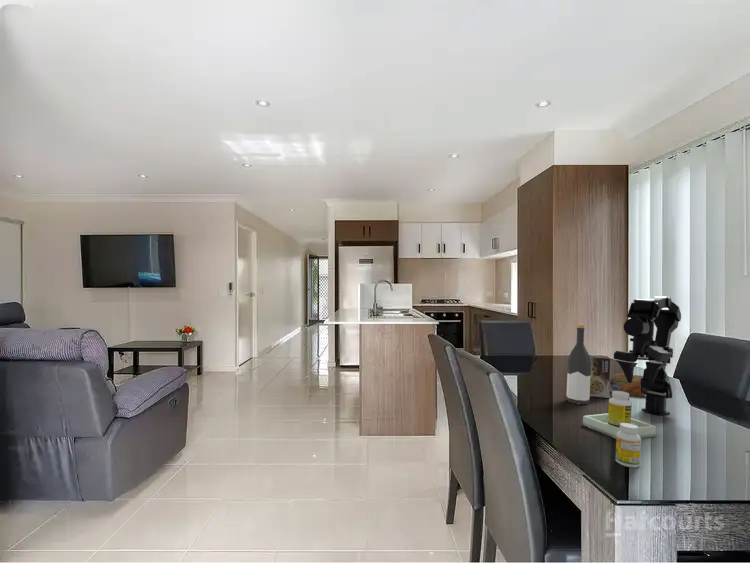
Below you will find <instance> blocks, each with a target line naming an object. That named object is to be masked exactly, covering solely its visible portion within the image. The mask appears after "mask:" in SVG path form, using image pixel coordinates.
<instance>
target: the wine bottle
mask: <svg viewBox="0 0 750 563" xmlns="http://www.w3.org/2000/svg"><path fill="white" fill-rule="evenodd" d="M584 326H585V325H584V323H578V324H577V327H576V343H575V345H574V347H573V348H572V350H571V351H570V354H569V356H568V360H567V376H566V377H567V379H566V401H567V400H568V401H571V402H574V403H580V404H579V405H581V404H586V405H589V404H590V397H591V396H590V376H591V361H590V357H589V355H590V354H589V352H588V350H587V348H586V347H585V346H586V345H585V344H584V342H585V341H584V340H585V327H584ZM568 401H567V402H568ZM574 403H573V404H574ZM588 403H589V404H588Z"/></svg>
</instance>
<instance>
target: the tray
mask: <svg viewBox="0 0 750 563" xmlns="http://www.w3.org/2000/svg"><path fill="white" fill-rule="evenodd" d="M631 424H633V425H636V426H638V433H637V434H638V435H639V436H640V438H641V439H646V438H653V437H654V438H655V437H657V426H656V425H653V424H651V423H647V422H645V421H641V420H638V419H635V418H632V417H631ZM582 426H584V427H586V426H587V428H589V429H591V430H594V431H597V432H599V433H601V434H604V435H606V436H609V437H612V438H613V439H616V435H617V432H619V431H621V430H620V428H617V427H615V426H612V425H609V424H608V413H599V414H586V415H583V416H582Z"/></svg>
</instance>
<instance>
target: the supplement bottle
mask: <svg viewBox="0 0 750 563" xmlns="http://www.w3.org/2000/svg"><path fill="white" fill-rule="evenodd" d="M620 430H621V431H619V432H617V435H616V438H615V462H616V463H618V464H619V465H621V466H624V467H628V468H638V467H640V465H641V446H642V444H641V443H642V438H640V436H639V435H638V434H637V433H638V426H636V425H633V424H629V423H620Z"/></svg>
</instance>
